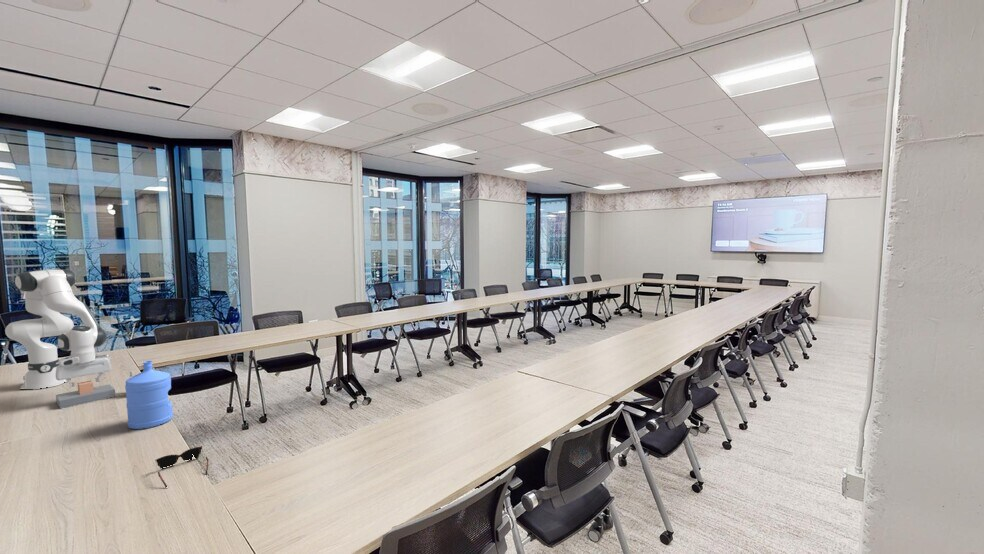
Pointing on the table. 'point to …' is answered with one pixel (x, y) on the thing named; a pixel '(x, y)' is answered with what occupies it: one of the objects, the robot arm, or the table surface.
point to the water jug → (148, 398)
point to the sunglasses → (173, 459)
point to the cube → (85, 387)
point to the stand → (84, 396)
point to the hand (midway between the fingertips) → (85, 383)
